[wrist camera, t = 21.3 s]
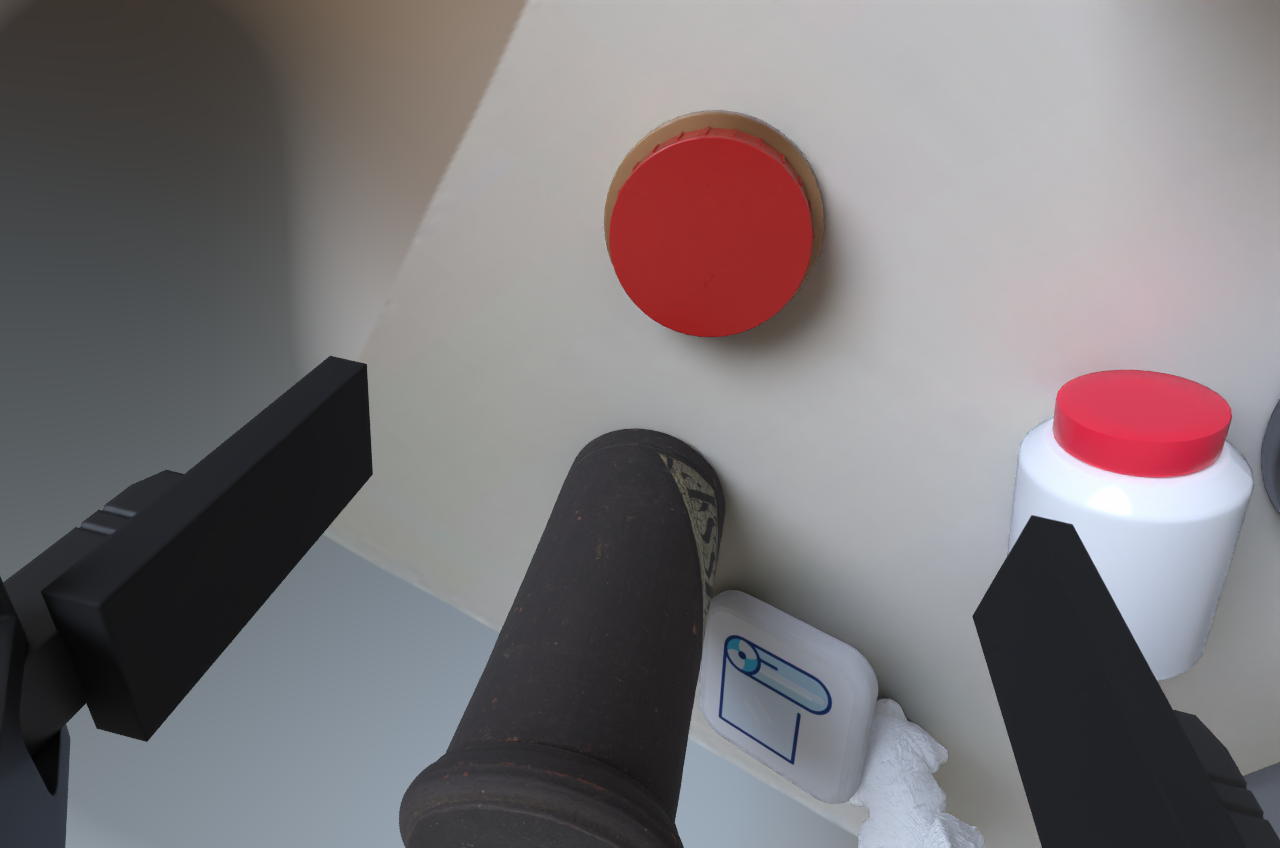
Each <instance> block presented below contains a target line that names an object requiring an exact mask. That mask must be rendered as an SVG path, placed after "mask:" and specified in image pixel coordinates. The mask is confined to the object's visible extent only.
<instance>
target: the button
mask: <svg viewBox="0 0 1280 848" xmlns="http://www.w3.org/2000/svg"><path fill="white" fill-rule="evenodd" d="M877 696H878V682H877V678H876V675H875V672H874V670H873V668H872V666H871V665H870V663H869V662H868V661H867V659H866V658H865V657H864V656H863V655H862V654H861V653H860V652H859V651H858V650H856V649H855V648H854V647H852V646H850V645H849V644H847V643H845V642H843V641H841V640H839V639H837V638H835V637H833V636H831V635H829V634H827V633H825V632H823V631H821V630H819V629H817V628H815V627H813V626H811V625H809V624H807V623H805V622H803V621H801V620H799V619H797V618H795V617H793V616H791V615H789V614H787V613H785V612H783V611H781V610H779V609H777V608H775V607H773V606H771V605H769V604H767V603H765V602H763V601H761V600H759V599H757V598H755V597H753V596H751V595H749V594H747V593H744V592H741V591H737V590H726V591H723V592H721V593H719V594H718V595H716V596H715V597H714V598H713V599H712V600H711V603H710V609H709V614H708V619H707V626H706V631H705V637H704V644H703V652H702V667H701V683H700V706H701V710H702V712H703V715H704V717H705V718H706V720H707V722H708V723H709V724H710V726H711V727H712V728H713V729H714V730H715V731H716V732H717V733H718V734H719V735H721V736H722V737H724V738H725V739H727V740H728V741H730V742H731V743H733V744H734V745H736V746H737V747H739V748H740V749H742V750H743V751H745V752H746V753H748V754H749V755H751V756H752V757H754V758H755V759H757V760H759V761H760V762H762V763H763V764H765V765H766V766H768V767H769V768H771V769H772V770H774V771H775V772H777V773H778V774H780V775H781V776H783V777H784V778H786V779H787V780H789V781H790V782H792V783H793V784H795V785H797V786H798V787H800V788H801V789H803V790H804V791H806V792H807V793H809V794H810V795H812V796H813V797H815V798H817V799H818V800H820V801H823V802H826V803H830V804H840V803H844V802H847V801H848V800H849V799H851V798H852V797H853V796H854V795H855V793H856V792H857V790H858V788H859V786H860V783H861V778H862V773H863V768H864V763H865V758H866V753H867V747H868V742H869V737H870V732H871V727H872V722H873V717H874V712H875V706H876V701H877Z"/></svg>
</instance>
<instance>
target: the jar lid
mask: <svg viewBox="0 0 1280 848" xmlns="http://www.w3.org/2000/svg"><path fill="white" fill-rule="evenodd" d="M737 130H738V129H737V128H735V130H731V129H724V128H710V126H707V128H706V129H698V130H693V131H689V132H686V133H683V131H682V132H680V134H679V135H678V136H675V137H673V138H671V139H669V140H667V141H665V142H664V143H662V144H660V145H659V143H658V144H657V145H656V146H655V147H654V149H653V150H652V151H651V152H650V153H649V154H648V155H647V156H646V157H645V158H644V159H643V160H642V161H641V162H639V161H638V162H637V164H636V165H635V166H634V168H633V169H632V171H633V173H632V174H631V175H630V177H629V178H628V180H627V181H626V182H625V183H624V184H623V186H622V187H621V189H620V190H619V191H618V194H619V195H618V197H617V199H616V202H615V205H614V207H613V211H612V215H611V217H610V219H611V220H610V228H609V248H610V254H611V259H612V263H613V266H614V269H615V272H616V275H617V277H618V279H619V281H620V283H621V285H622V287H623V288H624V290H625V292H626V293H627V295H628V296H629V297H630V298H631V300H632V301H633V302H634V303H635V304H636V305H637V306H638V307H639V308H640V309H641V310H642V311H643V312H644V313H645V314H646V315H648V316H649V317H650V318H652V319H653V320H655V321H656V322H658V323H660V324H661V325H663V326H665V327H667V328H670V329H672V330H674V331H677V332H680V333H684V334H687V335H693V336H699V337H722V336H728V335H734V334H738V333H741V332H744V331H747V330H750V329H752V328H754V327H756V326H758V325H760V324H762V323H763V322H765V321H767V320H768V319H770V318H771V317H773V316H774V315H775V314H776V313H777V312H779V311H780V310H781V309H782V308H783V307H784V306H785V305H786V304H787V303H788V302H789V301H790V299H791V298H792V296H793V295H794V294H795V292H796V291H797V289H798V288H799V286H800V284H801V282H802V280H803V278H804V276H805V273H806V271H807V268H808V265H809V264H810V257H811V252H812V243H813V239H814V230H813V226H812V222H811V215H810V212H812V208H811V202H810V200H809V201H808V199H807V196H806V192H805V189H804V187H803V185H802V179H801V176H798V175H797V174H796V172H795V170H794V169H793V167H792V166H791V165H790V164H789V162H788V161H787V160H786V159H785V155H784V154H783V155H781V154H780V153H779V152H778V151H776V150H775V149H774V148H773V147H772V146H770V145H768V144H767V143H765V142H764V141H763V138H760V139H758V138H756V137H754V136H752V135H750V134H747V133H743V132H740V131H737Z"/></svg>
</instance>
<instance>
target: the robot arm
mask: <svg viewBox="0 0 1280 848" xmlns="http://www.w3.org/2000/svg"><path fill="white" fill-rule="evenodd" d="M1262 472H1263V480H1264V483H1265V486H1266V490H1267V492H1268V495H1269V497H1270V499H1271V501H1272V503H1273V504H1274V506H1275V507H1276V509H1277V510H1278V512H1279V513H1280V400H1279V402H1278V404H1277V405H1276V407H1275V409H1274V412H1273V414H1272V416H1271V419H1270V421H1269V424H1268V427H1267V430H1266V434H1265V437H1264V443H1263V449H1262ZM372 474H373V471H372V453H371V435H370V416H369V398H368V379H367V364H364V363H359V362H355V361H350V360H346V359H342V358H337V357H333V356H330V357H328V358H327V359H326V360H324V361H323V362H322V363H321V364H320V365H318V366H317V367H316V368H315V369H313V370H312V371H311V372H310V373H309V374H307V375H306V376H305V377H304V378H302V379H301V380H300V381H299V382H297V383H296V384H295V385H294V386H293V387H291V388H290V389H289V390H288V391H286V392H285V393H284V394H283V395H281V396H280V397H279V398H278V399H277V400H275V401H274V402H273V403H272V404H270V405H269V406H268V407H267V408H265V409H264V410H263V411H262V412H261V413H259V414H258V415H257V416H256V417H254V418H253V419H252V420H251V421H250V422H248V423H247V424H246V425H245V426H243V427H242V428H241V429H240V430H238V431H237V432H236V433H235V434H233V435H232V436H231V437H230V438H229V439H227V440H226V441H225V442H224V443H222V444H221V445H220V446H219V447H217V448H216V449H215V450H214V451H213V452H212V453H210V454H209V455H208V456H206V457H205V458H204V459H203V460H201V461H200V462H199V463H198V464H197V465H195V466H194V467H193V468H192V469H190V470H189V471H188V472H187V473H186V474H181V473H177V472H173V471H169V470H165V471H162V472H160V473H158V474H156V475H153V476H151V477H149V478H146V479H144V480H142V481H139V482H137V483H135V484H133V485H131V486H129V487H128V488H127V489H125V490H124V491H123V492H121V493H120V494H119V495H117V496H116V497H115V498H114V499H112V500H111V501H110V502H108V503H107V504H106V505H104V508H103V510H102V511H101V510H98V511H97V512H95V513H94V514H93V515H91V516H90V517H89V518H87V519H86V520H85V521H83V522H82V525H81V527H80V528H77V527H75V528H74V529H73V530H72V531H70V532H69V533H68V534H66V535H65V536H64V537H62V538H61V539H60V540H59V541H57V542H56V543H55V544H53V545H52V546H51V547H49V548H48V549H47V550H45V551H44V552H43V553H41V554H40V555H39V556H37V557H36V558H35V559H34V560H32V561H31V562H30V563H28V564H27V565H26V566H24V567H23V568H22V569H21V570H19V571H18V572H17V573H15V574H14V575H13V576H12V577H10V578H9V579H7V580H6V581H5V582H2V579H1V577H0V848H65V840H66V839H65V838H66V819H67V798H68V797H67V796H68V775H69V755H70V736H69V732H68V729H67V726H66V723H67V722H68V721H69V720H70V719H71V718H72V717H73V716H74V715H75V714H76V713H77V712H78V711H79V710H80V709H81V708H82V707H83V706H84V705H85V704H86V703H87V706H88V708H89V711H90V713H91V715H92V718H93V720H94V723H95V725H96V727H97V729H101V730H105V731H109V732H112V733H116V734H120V735H124V736H127V737H131V738H135V739H139V740H142V741H146V742H147V741H148V740H149V739H150V738H151V736H152V735H153V734H154V733H155V732H156V731H157V729H158V728H159V727H160V726H161V725H162V723H163V722H164V721H165V720H166V719H167V717H168V716H169V715H170V714H171V713H172V712H173V710H174V709H175V708H176V707H177V706H178V704H179V703H180V702H181V701H182V699H184V697H185V696H186V695H187V694H188V693H189V691H190V690H191V689H192V688H193V687H194V686H195V684H196V683H197V682H198V681H199V680H200V678H201V677H202V676H203V675H204V673H205V672H206V671H207V670H208V669H209V668H210V666H211V665H212V664H213V663H214V662H215V660H216V659H217V658H218V657H219V656H220V655H221V654H222V652H223V651H224V650H225V649H226V648H227V646H228V645H229V644H230V643H231V642H232V640H233V639H234V638H235V637H236V636H237V635H238V633H239V632H240V631H241V630H242V628H243V627H244V626H245V625H246V624H247V623H248V621H249V620H250V619H251V618H252V617H253V616H254V614H255V613H256V612H257V611H258V610H259V608H260V607H261V606H262V605H263V604H264V603H265V601H266V600H267V599H268V598H269V596H270V595H271V594H272V593H273V592H274V591H275V589H276V588H277V587H278V586H279V585H280V584H281V582H282V581H283V580H284V579H285V578H286V576H287V575H288V574H289V573H290V572H291V570H292V569H293V568H294V567H295V566H296V565H297V563H298V562H299V561H300V560H301V559H302V557H303V556H304V555H305V554H306V553H307V551H308V550H309V549H310V548H311V547H312V546H313V544H314V543H315V542H316V541H317V540H318V538H319V537H320V536H321V535H322V534H323V533H324V531H325V530H326V529H327V528H328V527H329V525H330V524H331V523H332V522H333V521H334V520H335V518H336V517H337V516H338V515H339V514H340V512H341V511H342V510H343V509H344V508H345V507H346V505H347V504H348V503H349V502H350V501H351V499H352V498H353V497H354V496H355V495H356V493H357V492H358V491H359V490H360V489H361V488H362V486H363V485H364V484H365V483H366V482H367V480H368V479H369V478H370V477H371V476H372ZM973 619H974V623H975V626H976V629H977V633H978V636H979V639H980V643H981V646H982V649H983V653H984V656H985V659H986V663H987V666H988V669H989V673H990V676H991V679H992V683H993V686H994V689H995V693H996V696H997V699H998V703H999V706H1000V709H1001V713H1002V716H1003V719H1004V723H1005V726H1006V729H1007V733H1008V736H1009V739H1010V742H1011V746H1012V749H1013V752H1014V756H1015V759H1016V762H1017V766H1018V769H1019V772H1020V776H1021V779H1022V782H1023V786H1024V789H1025V792H1026V796H1027V799H1028V802H1029V806H1030V809H1031V812H1032V816H1033V819H1034V822H1035V826H1036V829H1037V832H1038V836H1039V839H1040V842H1041V846H1042V848H1280V762H1279V763H1276V764H1274V765H1271V766H1268V767H1266V768H1263V769H1261V770H1258V771H1255V772H1253V773H1250V774H1248V775H1245V776H1242V774H1241V772H1240V771H1239V769H1238V767H1237V766H1236V764H1235V762H1234V760H1233V759H1232V757H1231V755H1230V753H1229V752H1228V750H1227V748H1226V747H1225V746H1224V745H1223V744H1222V743H1221V742H1220V741H1219V740H1218V739H1217V738H1216V737H1215V736H1214V735H1213V734H1212V732H1211V731H1210V730H1209V729H1208V728H1207V727H1206V726H1205V725H1204V724H1203V723H1202V722H1201V721H1200V720H1199V719H1198V718H1197V716H1196V715H1193V714H1189V713H1184V712H1180V711H1176V710H1172V708H1171V706H1170V704H1169V702H1168V700H1167V698H1166V697H1165V695H1164V693H1163V691H1162V689H1161V687H1160V685H1159V684H1158V682H1157V680H1156V678H1155V676H1154V674H1153V672H1152V671H1151V669H1150V667H1149V665H1148V663H1147V661H1146V659H1145V658H1144V656H1143V654H1142V652H1141V650H1140V648H1139V646H1138V645H1137V643H1136V641H1135V639H1134V637H1133V635H1132V633H1131V632H1130V630H1129V628H1128V626H1127V624H1126V622H1125V620H1124V619H1123V617H1122V615H1121V613H1120V611H1119V609H1118V607H1117V606H1116V604H1115V602H1114V600H1113V598H1112V596H1111V594H1110V593H1109V591H1108V589H1107V587H1106V585H1105V583H1104V581H1103V580H1102V578H1101V576H1100V574H1099V572H1098V570H1097V568H1096V567H1095V565H1094V563H1093V561H1092V559H1091V557H1090V555H1089V554H1088V552H1087V550H1086V548H1085V546H1084V544H1083V542H1082V541H1081V539H1080V537H1079V535H1078V533H1077V531H1076V529H1075V528H1074V526H1073V524H1069V523H1065V522H1060V521H1056V520H1052V519H1047V518H1043V517H1038V516H1034V515H1031V517H1030V518H1029V520H1028V522H1027V524H1026V525H1025V527H1024V529H1023V530H1022V532H1021V534H1020V536H1019V537H1018V539H1017V541H1016V542H1015V544H1014V546H1013V548H1012V549H1011V551H1010V553H1009V554H1008V556H1007V558H1006V560H1005V561H1004V563H1003V565H1002V566H1001V568H1000V570H999V572H998V573H997V575H996V577H995V578H994V580H993V582H992V584H991V585H990V587H989V589H988V590H987V592H986V594H985V596H984V597H983V599H982V601H981V602H980V604H979V606H978V608H977V609H976V611H975V613H974V614H973Z"/></svg>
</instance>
